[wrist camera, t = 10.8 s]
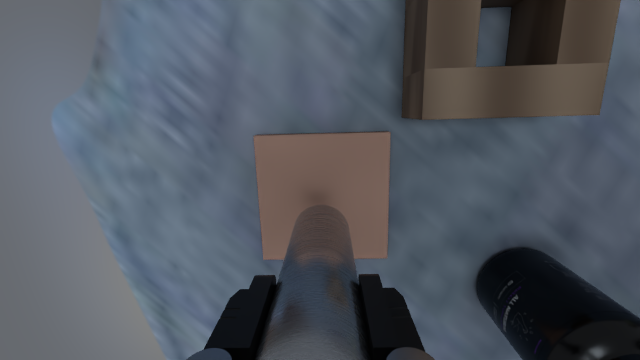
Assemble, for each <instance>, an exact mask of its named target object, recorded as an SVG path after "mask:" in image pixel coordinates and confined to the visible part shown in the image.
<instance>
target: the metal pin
mask: <svg viewBox="0 0 640 360" xmlns="http://www.w3.org/2000/svg"><path fill="white" fill-rule="evenodd" d="M255 360H371V354H370V349H369V343H368V337H367V331H366V325H365V319H364V314H363V308H362V302H361V296H360V290H359V283H358V277H357V271H356V265H355V260H354V254H353V248H352V242H351V237H350V231H349V226H348V222H347V220H346V218H345V217H344V215H343V214H342V213H341V212H340V211H339V210H337V209H336V208H334V207H331V206H328V205H314V206H311V207H309V208H307V209H305V210H304V211H303V212H301V213H300V215H299V216H298V217H297V219H296V221H295V224H294V228H293V231H292V235H291V238H290V241H289V245H288V248H287V251H286V255H285V258H284V262H283V265H282V268H281V272H280V275H279V279H278V282H277V285H276V289H275V292H274V295H273V299H272V302H271V306H270V309H269V312H268V316H267V319H266V323H265V326H264V329H263V333H262V336H261V339H260V343H259V346H258V350H257V353H256V356H255Z"/></svg>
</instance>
